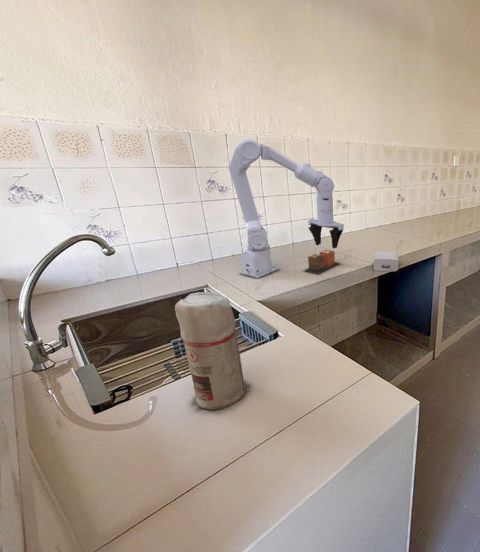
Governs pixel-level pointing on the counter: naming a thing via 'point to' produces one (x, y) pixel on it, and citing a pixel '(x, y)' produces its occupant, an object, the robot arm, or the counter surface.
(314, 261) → the brown block
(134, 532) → the counter surface
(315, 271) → the small dark keyboard
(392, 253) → the charger
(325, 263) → the orange block
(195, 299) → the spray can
